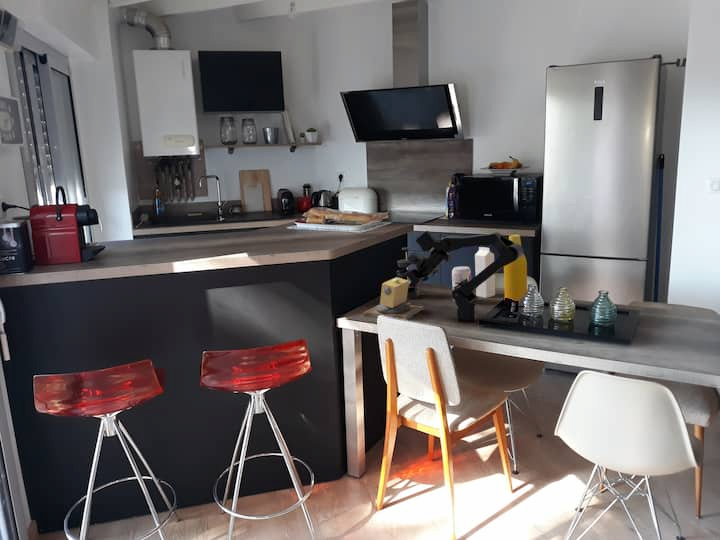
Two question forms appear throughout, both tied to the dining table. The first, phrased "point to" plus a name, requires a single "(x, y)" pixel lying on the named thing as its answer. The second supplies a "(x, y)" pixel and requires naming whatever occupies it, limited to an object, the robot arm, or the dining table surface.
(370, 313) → the level base
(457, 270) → the supplement can
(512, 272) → the yellow bottle
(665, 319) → the dining table surface
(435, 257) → the robot arm
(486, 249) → the milk
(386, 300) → the yellow boxy piece
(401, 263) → the french press
